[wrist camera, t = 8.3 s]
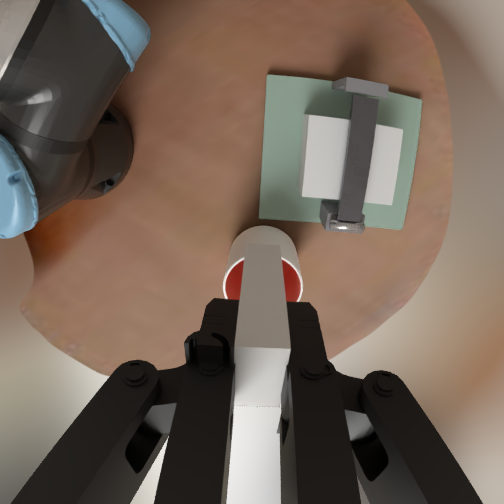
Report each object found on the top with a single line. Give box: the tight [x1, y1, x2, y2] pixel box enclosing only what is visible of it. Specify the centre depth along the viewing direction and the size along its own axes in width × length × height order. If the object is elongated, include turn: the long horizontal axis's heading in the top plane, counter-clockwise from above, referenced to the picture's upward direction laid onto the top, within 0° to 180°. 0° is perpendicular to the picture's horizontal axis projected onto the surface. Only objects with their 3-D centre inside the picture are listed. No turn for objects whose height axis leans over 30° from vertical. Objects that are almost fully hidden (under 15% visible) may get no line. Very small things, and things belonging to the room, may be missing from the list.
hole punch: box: [259, 75, 422, 233], centre depth 37 cm, size 22×20×9 cm
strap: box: [329, 95, 379, 232], centre depth 34 cm, size 4×17×1 cm, turn 177°
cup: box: [223, 226, 303, 302], centre depth 43 cm, size 10×10×10 cm
